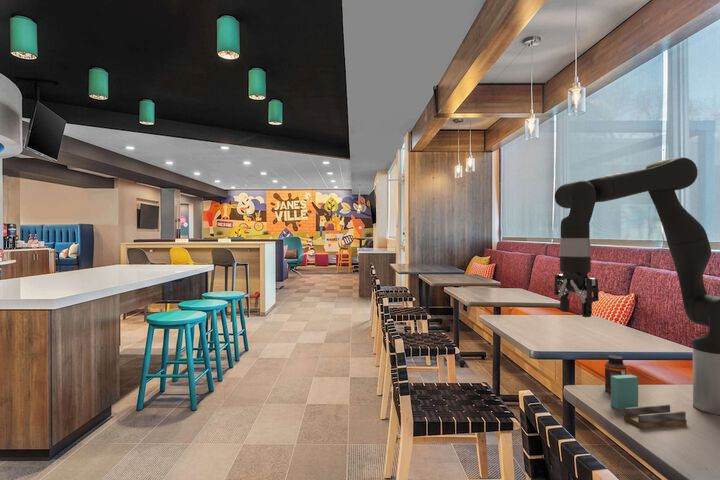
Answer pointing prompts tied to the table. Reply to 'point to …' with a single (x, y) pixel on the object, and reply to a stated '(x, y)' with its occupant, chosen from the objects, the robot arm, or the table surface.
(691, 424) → the table surface
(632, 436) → the table surface
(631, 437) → the table surface
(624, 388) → the teal rectangular block
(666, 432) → the table surface
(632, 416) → the floor track
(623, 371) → the supplement bottle
